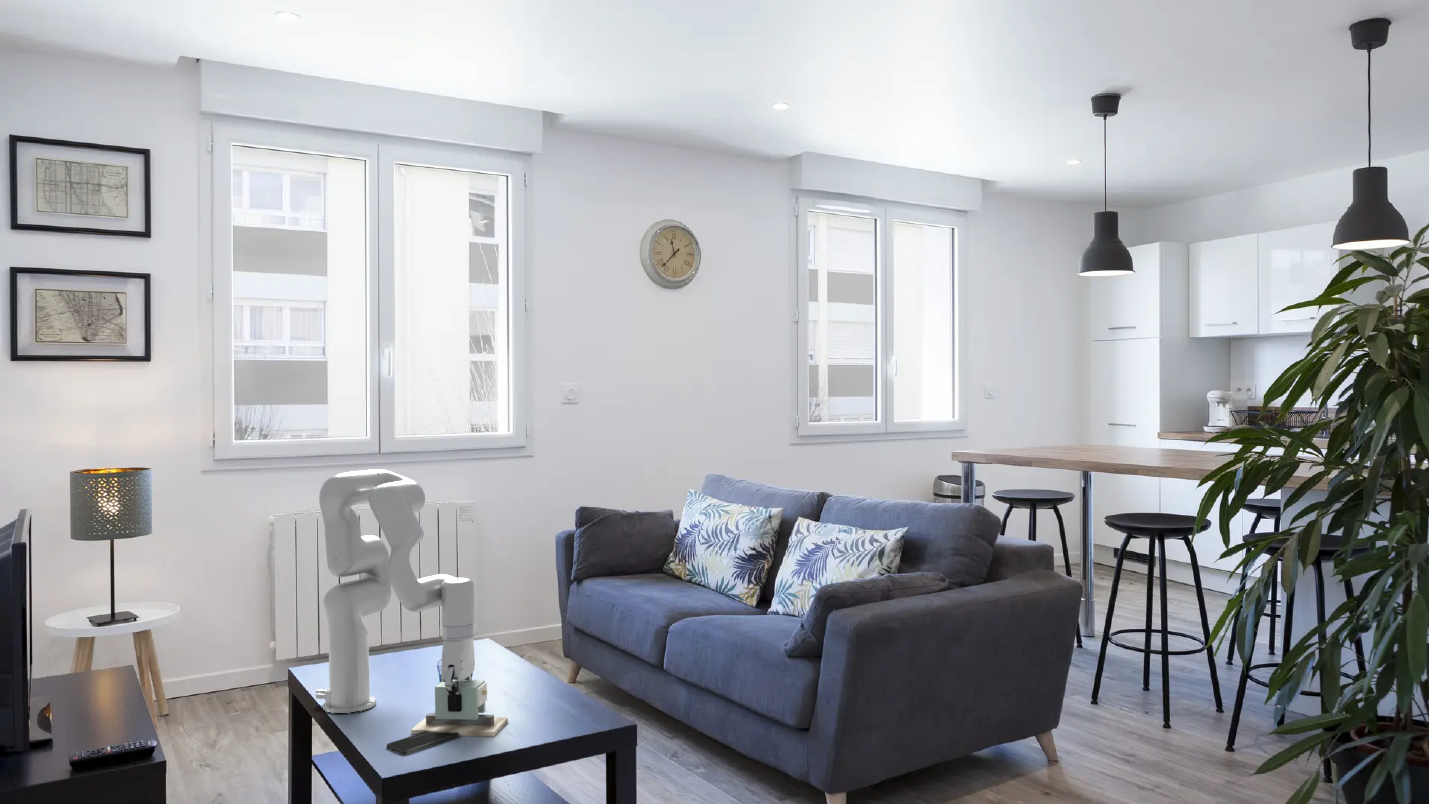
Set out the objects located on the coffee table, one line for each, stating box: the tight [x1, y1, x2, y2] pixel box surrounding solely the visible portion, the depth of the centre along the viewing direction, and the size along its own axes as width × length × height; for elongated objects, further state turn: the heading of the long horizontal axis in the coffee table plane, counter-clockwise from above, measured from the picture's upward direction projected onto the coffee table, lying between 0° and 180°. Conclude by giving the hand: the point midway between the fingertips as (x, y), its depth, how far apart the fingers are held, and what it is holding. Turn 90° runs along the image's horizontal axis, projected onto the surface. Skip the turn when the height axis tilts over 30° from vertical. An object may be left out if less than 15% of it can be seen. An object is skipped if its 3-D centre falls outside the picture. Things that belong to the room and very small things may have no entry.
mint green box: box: [434, 679, 488, 720], centre depth 237 cm, size 11×6×8 cm, turn 84°
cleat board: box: [410, 712, 509, 737], centre depth 237 cm, size 20×10×3 cm, turn 83°
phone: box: [386, 731, 460, 756], centre depth 227 cm, size 8×1×15 cm
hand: (460, 705), depth 237 cm, fingers closed on mint green box, 6 cm apart
